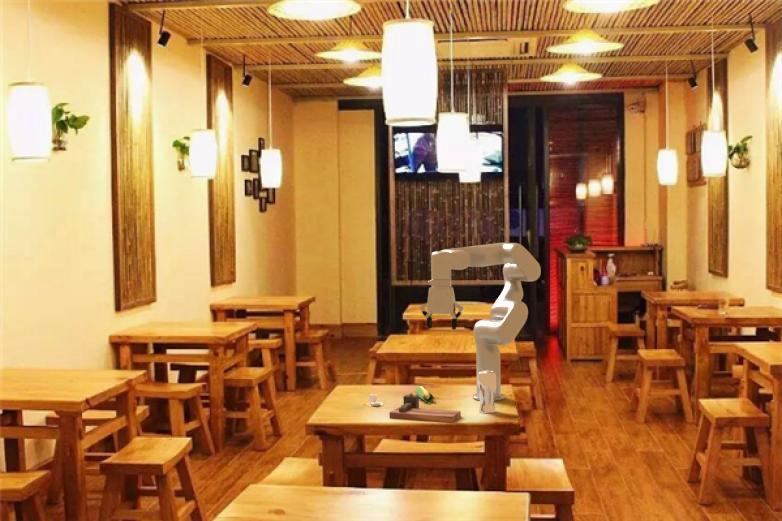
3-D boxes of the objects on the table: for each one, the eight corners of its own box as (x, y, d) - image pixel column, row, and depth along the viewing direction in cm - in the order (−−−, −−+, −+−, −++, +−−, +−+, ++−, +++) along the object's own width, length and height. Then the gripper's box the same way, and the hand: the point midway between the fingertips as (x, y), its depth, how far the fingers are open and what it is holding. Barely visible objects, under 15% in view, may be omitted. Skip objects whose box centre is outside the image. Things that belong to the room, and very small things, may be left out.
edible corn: (425, 395, 398) (425, 384, 397) (436, 404, 378) (436, 393, 378) (413, 395, 397) (413, 384, 396) (423, 405, 377) (423, 393, 377)
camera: (406, 410, 367) (406, 392, 366) (419, 411, 365) (418, 392, 365) (395, 418, 356) (394, 399, 355) (408, 419, 354) (407, 400, 353)
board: (399, 412, 364) (399, 407, 364) (460, 416, 355) (460, 411, 355) (389, 417, 355) (389, 412, 355) (452, 422, 346) (452, 416, 346)
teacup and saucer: (380, 408, 375) (380, 397, 374) (360, 407, 376) (360, 397, 376) (385, 403, 383) (385, 393, 383) (365, 402, 385) (365, 392, 384)
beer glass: (478, 413, 360) (477, 373, 359) (477, 409, 367) (477, 370, 366) (497, 413, 360) (496, 373, 359) (496, 409, 366) (495, 370, 366)
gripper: (416, 284, 368) (417, 329, 369) (460, 285, 362) (460, 330, 363) (423, 282, 375) (423, 326, 376) (466, 283, 369) (466, 328, 370)
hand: (442, 328), depth 370 cm, fingers open, 9 cm apart
